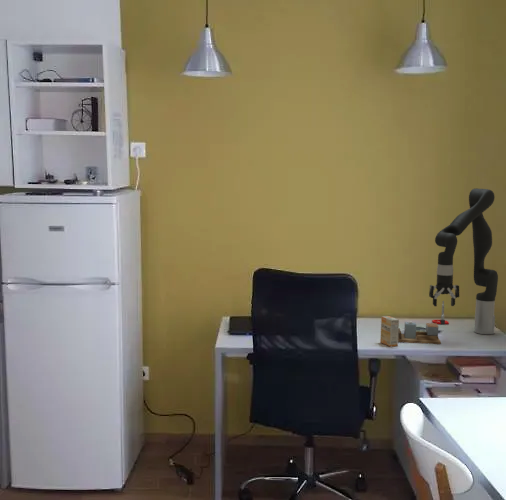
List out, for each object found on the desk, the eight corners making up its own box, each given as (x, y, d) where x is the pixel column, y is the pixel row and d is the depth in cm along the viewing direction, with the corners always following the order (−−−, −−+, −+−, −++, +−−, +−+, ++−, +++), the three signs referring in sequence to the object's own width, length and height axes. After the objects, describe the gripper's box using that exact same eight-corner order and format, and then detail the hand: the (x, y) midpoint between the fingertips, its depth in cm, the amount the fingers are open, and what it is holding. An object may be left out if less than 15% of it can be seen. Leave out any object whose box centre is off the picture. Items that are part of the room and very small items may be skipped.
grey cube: (435, 336, 325) (436, 323, 324) (437, 339, 319) (438, 326, 318) (425, 335, 326) (426, 323, 325) (427, 338, 320) (427, 325, 319)
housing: (414, 336, 326) (415, 320, 325) (415, 338, 321) (416, 323, 320) (404, 335, 326) (404, 320, 325) (405, 338, 322) (405, 322, 321)
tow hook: (430, 321, 366) (435, 324, 357) (430, 298, 365) (436, 301, 356) (444, 321, 367) (450, 324, 357) (445, 298, 366) (451, 301, 356)
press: (436, 337, 328) (437, 329, 328) (440, 344, 316) (441, 335, 316) (396, 336, 331) (396, 327, 330) (398, 342, 319) (398, 333, 318)
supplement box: (379, 342, 317) (380, 316, 316) (388, 341, 319) (389, 315, 318) (389, 347, 310) (390, 319, 308) (398, 346, 312) (399, 319, 310)
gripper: (433, 275, 315) (431, 308, 317) (462, 274, 316) (460, 307, 318) (428, 272, 322) (427, 304, 325) (456, 271, 323) (455, 304, 325)
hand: (443, 306), depth 321 cm, fingers open, 8 cm apart
